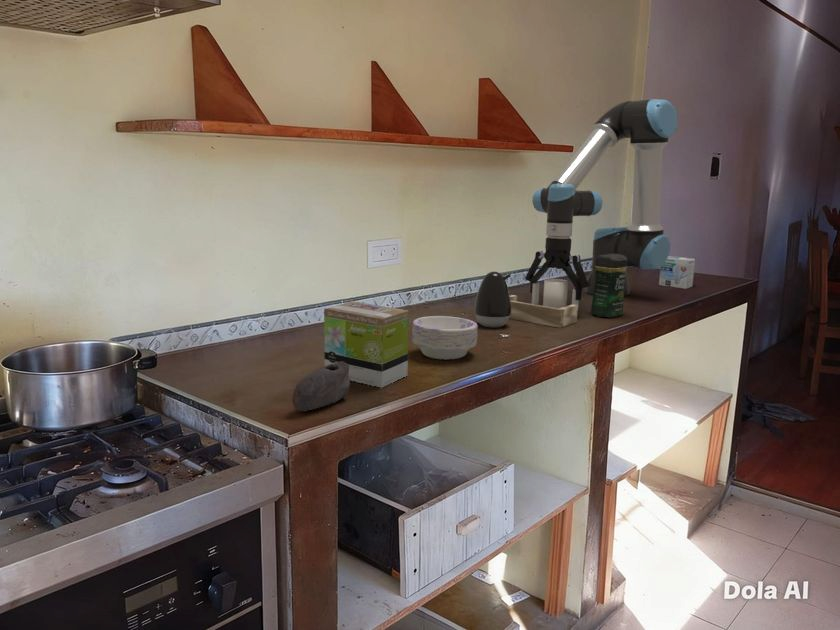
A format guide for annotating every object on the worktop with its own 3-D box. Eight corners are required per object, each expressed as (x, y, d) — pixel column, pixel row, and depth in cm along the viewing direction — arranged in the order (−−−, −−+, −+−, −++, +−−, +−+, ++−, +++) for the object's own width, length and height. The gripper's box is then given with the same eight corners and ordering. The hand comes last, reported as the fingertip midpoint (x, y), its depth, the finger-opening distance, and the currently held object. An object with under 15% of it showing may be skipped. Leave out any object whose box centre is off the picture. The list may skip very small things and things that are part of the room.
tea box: (322, 376, 147) (322, 307, 144) (351, 365, 155) (351, 299, 152) (382, 389, 139) (382, 316, 136) (409, 377, 147) (410, 308, 144)
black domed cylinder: (518, 327, 194) (521, 273, 190) (487, 331, 189) (489, 275, 185) (497, 320, 202) (499, 267, 199) (466, 323, 197) (468, 269, 194)
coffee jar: (608, 319, 206) (613, 256, 202) (586, 314, 211) (590, 253, 207) (627, 315, 212) (632, 254, 208) (605, 311, 218) (610, 251, 214)
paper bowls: (489, 355, 165) (491, 322, 163) (444, 367, 155) (445, 332, 153) (443, 343, 176) (444, 312, 174) (398, 353, 165) (398, 320, 164)
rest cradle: (511, 310, 215) (512, 294, 214) (576, 322, 201) (577, 305, 200) (494, 315, 208) (494, 299, 207) (560, 327, 194) (561, 310, 193)
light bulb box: (658, 285, 266) (660, 257, 264) (665, 283, 271) (667, 255, 269) (686, 289, 260) (689, 260, 257) (692, 286, 265) (695, 258, 262)
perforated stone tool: (304, 420, 122) (303, 381, 120) (282, 413, 125) (281, 376, 123) (358, 397, 134) (358, 362, 133) (337, 392, 137) (337, 357, 136)
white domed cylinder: (549, 309, 218) (551, 278, 216) (570, 313, 213) (572, 280, 211) (538, 313, 213) (539, 280, 210) (558, 316, 208) (560, 283, 206)
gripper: (516, 234, 213) (512, 303, 218) (591, 241, 197) (586, 315, 202) (529, 233, 219) (525, 299, 223) (603, 239, 203) (598, 311, 208)
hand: (554, 307), depth 213 cm, fingers open, 13 cm apart
